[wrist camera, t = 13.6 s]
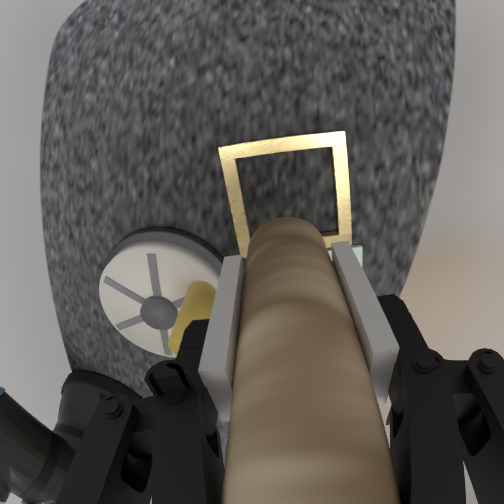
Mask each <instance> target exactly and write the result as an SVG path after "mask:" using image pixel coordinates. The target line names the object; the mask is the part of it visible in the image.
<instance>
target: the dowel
mask: <svg viewBox="0 0 504 504" xmlns="http://www.w3.org/2000/svg"><path fill="white" fill-rule="evenodd" d="M221 504H401V498H400V493H399V488H398V483H397V479H396V474H395V469H394V465H393V461H392V456H391V452H390V448H389V444H388V440H387V435H386V431H385V428H384V424H383V420H382V416H381V413H380V409H379V405H378V401H377V398H376V394H375V391H374V387H373V384H372V380H371V377H370V373H369V370H368V367H367V363H366V360H365V357H364V354H363V350H362V347H361V344H360V341H359V338H358V335H357V332H356V329H355V326H354V323H353V320H352V317H351V314H350V311H349V308H348V305H347V302H346V299H345V296H344V293H343V291H342V288H341V285H340V282H339V279H338V277H337V274H336V271H335V268H334V266H333V263H332V260H331V258H330V255H329V252H328V250H327V247H326V245H325V242H324V239H323V237H322V235H321V234H320V232H319V231H318V230H317V228H316V227H315V226H313V225H312V224H311V223H309V222H308V221H305V220H303V219H300V218H296V217H279V218H275V219H272V220H270V221H268V222H266V223H264V224H263V225H262V226H260V227H259V228H258V229H257V230H256V231H255V233H254V234H253V236H252V237H251V239H250V242H249V245H248V251H247V261H246V270H245V279H244V288H243V297H242V307H241V316H240V325H239V335H238V344H237V353H236V363H235V372H234V382H233V391H232V401H231V410H230V420H229V430H228V440H227V449H226V459H225V469H224V479H223V489H222V499H221Z"/></svg>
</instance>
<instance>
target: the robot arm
mask: <svg viewBox="0 0 504 504" xmlns="http://www.w3.org/2000/svg"><path fill="white" fill-rule="evenodd" d="M331 249H332V263H333V266H334V268H335V271H336V274H337V277H338V279H339V282H340V285H341V288H342V291H343V293H344V296H345V299H346V302H347V305H348V308H349V311H350V314H351V317H352V320H353V323H354V326H355V329H356V332H357V335H358V338H359V341H360V344H361V347H362V350H363V354H364V357H365V360H366V363H367V367H368V370H369V373H370V377H371V380H372V384H373V387H374V391H375V394H376V398H377V401H378V404H382V403H386V400H387V397H388V394H389V397H390V400H391V404H392V405H391V409H390V412H389V415H388V418H387V421H386V425H389V423H390V452H391V456H392V461H393V465H394V469H395V474H396V479H397V483H398V488H399V493H400V498H401V504H466V491H465V477H464V465H463V461H464V463H465V466H466V469H467V472H468V474H469V477H470V480H471V483H472V485H473V489H474V492H475V494H476V498H477V501H478V504H504V359H503V358H502V357H501V355H499V354H498V353H497V352H496V351H494V350H492V349H486V348H483V349H478V350H476V351H475V352H473V353H472V355H471V357H470V358H469V360H461V361H460V360H459V361H458V360H455V361H454V360H445V359H443V357H442V356H441V355H440V354H439V353H438V352H436V351H434V350H431V349H429V348H428V346H427V344H426V342H425V340H424V338H423V336H422V334H421V333H420V331H419V329H418V327H417V325H416V323H415V321H414V320H413V318H412V316H411V314H410V313H409V311H408V309H407V307H406V305H405V303H404V302H403V301H402V300H401V299H400V298H398V297H397V296H396V295H394V294H390V295H384V296H379V297H376V295H375V293H374V291H373V289H372V287H371V285H370V283H369V281H368V279H367V277H366V275H365V273H364V271H363V269H362V267H361V265H360V263H359V261H358V259H357V257H356V255H355V253H354V251H353V249H352V247H351V246H350V244H349V242H348V241H341V242H333V243H331ZM244 279H245V270H244V265H243V261H242V256H241V255H234V256H227V257H224V261H223V265H222V269H221V273H220V277H219V281H218V286H217V290H216V294H215V298H214V303H213V307H212V311H211V316H210V319H201V320H192V321H191V323H190V324H189V325H188V326H187V327H186V328H185V330H184V333H183V336H182V342H181V343H180V346H179V350H178V353H177V356H176V360H165V361H162V362H159V363H157V364H156V365H154V366H153V367H151V368H150V370H149V371H148V372H147V373H146V376H145V379H144V380H145V382H146V383H147V385H148V386H149V388H150V390H151V391H152V393H153V394H154V396H151V397H148V398H143V399H142V398H140V397H139V396H138V395H137V394H135V393H134V392H133V391H131V390H130V389H128V388H127V387H125V386H123V385H122V384H120V383H118V382H116V381H114V380H112V379H109V378H107V377H105V376H102V375H99V374H96V373H92V372H86V371H76V372H72V373H70V374H69V375H68V377H67V379H66V381H65V382H64V384H63V386H62V391H61V394H62V399H61V403H60V408H59V415H58V421H57V424H56V426H55V428H54V430H53V431H51V430H50V429H49V428H47V427H46V426H45V425H44V424H42V423H41V422H40V421H38V420H37V419H36V418H35V417H33V416H32V415H31V414H30V413H29V412H27V411H26V410H25V409H24V408H23V407H22V406H21V405H19V404H18V403H17V402H16V401H15V400H14V399H13V398H12V397H11V396H9V395H8V394H7V393H6V392H5V389H4V388H3V387H0V504H5V502H6V501H7V498H8V496H9V494H10V493H13V494H15V495H17V496H18V497H20V498H22V499H23V500H22V504H150V500H151V496H152V504H221V499H222V489H223V479H224V464H223V456H222V448H221V441H220V433H219V430H218V428H217V426H216V423H217V416H219V418H220V420H221V422H229V420H230V410H231V401H232V391H233V382H234V372H235V363H236V353H237V344H238V335H239V325H240V316H241V307H242V297H243V288H244Z"/></svg>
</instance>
